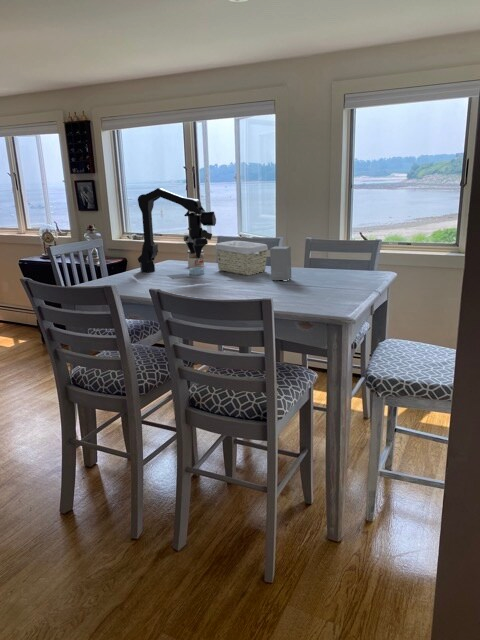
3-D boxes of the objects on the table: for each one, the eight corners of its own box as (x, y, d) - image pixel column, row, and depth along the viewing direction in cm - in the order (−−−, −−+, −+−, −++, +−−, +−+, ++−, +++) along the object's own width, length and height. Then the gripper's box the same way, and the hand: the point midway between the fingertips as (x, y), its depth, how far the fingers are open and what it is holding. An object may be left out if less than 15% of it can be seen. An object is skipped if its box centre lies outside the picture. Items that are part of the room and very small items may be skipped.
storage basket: (269, 272, 244) (269, 243, 240) (247, 276, 233) (247, 247, 229) (236, 266, 260) (235, 240, 256) (214, 271, 249) (213, 243, 245)
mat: (173, 280, 225) (172, 278, 225) (166, 277, 234) (166, 275, 233) (192, 278, 229) (192, 276, 229) (186, 275, 238) (186, 273, 237)
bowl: (192, 277, 233) (192, 270, 232) (187, 275, 240) (187, 268, 239) (206, 276, 236) (205, 269, 235) (201, 273, 242) (200, 266, 241)
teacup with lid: (196, 269, 254) (195, 247, 251) (184, 267, 260) (183, 246, 256) (211, 265, 263) (210, 245, 260) (199, 264, 269) (198, 243, 265)
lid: (191, 258, 231) (191, 255, 230) (187, 256, 237) (186, 253, 236) (205, 257, 234) (204, 254, 233) (200, 255, 240) (199, 252, 239)
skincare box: (291, 279, 225) (292, 246, 220) (286, 282, 218) (287, 248, 214) (275, 278, 228) (275, 245, 224) (269, 281, 222) (269, 247, 217)
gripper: (217, 226, 226) (217, 258, 230) (203, 223, 242) (204, 253, 247) (195, 227, 221) (196, 260, 226) (182, 224, 238) (184, 255, 242)
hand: (195, 257), depth 235 cm, fingers closed on lid, 7 cm apart
